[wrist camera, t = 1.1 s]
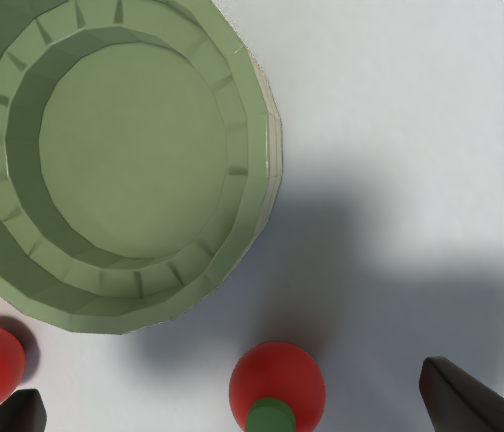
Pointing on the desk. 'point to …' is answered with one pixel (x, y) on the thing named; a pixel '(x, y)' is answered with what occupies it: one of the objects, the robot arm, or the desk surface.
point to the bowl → (128, 159)
